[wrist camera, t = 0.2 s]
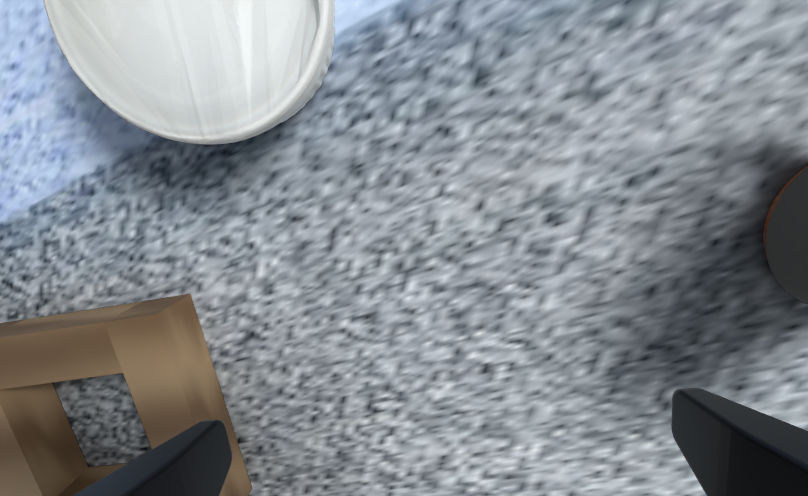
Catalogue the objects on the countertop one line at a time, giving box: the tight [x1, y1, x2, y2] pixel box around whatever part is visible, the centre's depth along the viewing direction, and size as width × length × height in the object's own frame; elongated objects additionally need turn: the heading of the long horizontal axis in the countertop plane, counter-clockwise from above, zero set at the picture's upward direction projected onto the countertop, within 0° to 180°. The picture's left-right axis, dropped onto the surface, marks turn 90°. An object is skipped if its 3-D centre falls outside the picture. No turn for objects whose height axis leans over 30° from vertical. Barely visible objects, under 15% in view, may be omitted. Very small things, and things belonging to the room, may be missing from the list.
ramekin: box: [43, 0, 335, 144], centre depth 17 cm, size 11×11×5 cm
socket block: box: [0, 294, 252, 496], centre depth 24 cm, size 14×14×3 cm
